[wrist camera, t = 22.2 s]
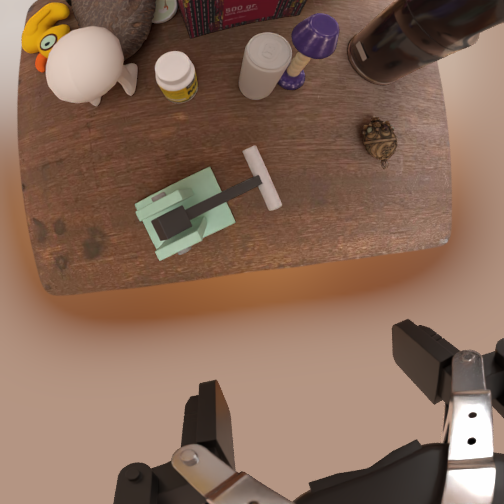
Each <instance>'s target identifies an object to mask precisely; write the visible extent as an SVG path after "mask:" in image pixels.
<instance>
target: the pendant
mask: <svg viewBox="0 0 504 504" xmlns="http://www.w3.org/2000/svg"><path fill="white" fill-rule="evenodd" d="M371 119H372V121H371V123H370V124H369V125H364V127H363V128H364V129H363V130H362V134H363V136H364V138H363V142H364V143H363V144H364V145H365V146H366V150H367V151H368V152H369V154H370V155H372V156H373V157H375V158H377V159H379V160H381V166H382V168H384V169H387V168H388V162H387V160H386V159H389V158H390V157H391V156H392V155H393V154H394V152H395V151H396V147H397V138H396V135H395V134H394V132H393V131H394V127H393V126H392V125H390V123H389V121H386V122H383V121H381V120H380V119H379V117H377V116H373V117H372V118H371ZM383 162H385V163H386V167H385V166H384V165H383Z"/></svg>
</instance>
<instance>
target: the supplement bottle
mask: <svg viewBox="0 0 504 504" xmlns="http://www.w3.org/2000/svg"><path fill="white" fill-rule="evenodd" d="M155 72H156V81H157V84H158V85H159V87H160V88H161V90H162V92H163V94H164V95H165V97H166V98H167V99H168V100H169V101H171V102H173V103H185V102H187V101H189V100H191V99H192V98H193V97H194V96H195V94H196V92H197V89H198V83H197V78H196V73H195V68H194V65H193V63H192V62H191V61H190V60H189V58H188V56H187V55H186V54H184V53H182V52H179V51H171V52H167V53H165V54H163V55H162V56H161V57H160V58H159V59H158V60H157V62H156V65H155Z"/></svg>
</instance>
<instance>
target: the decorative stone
mask: <svg viewBox="0 0 504 504" xmlns="http://www.w3.org/2000/svg"><path fill="white" fill-rule="evenodd" d="M155 2H156V0H71V4H72V5H71V6H72V10H73V11H74V15H75V18H76V19H77V21H78V25H79V26H80V28H85V27H90V26H96V27H102V28H106V29H107V30H109V31H110V32H111V33H112V34H114V35H115V36H116V37H117V38H118V39H119V42H120V45H121V49H122V53H123V56H124V60H126V59H128V58H129V57H131V56H132V55H133V54H135V53H136V52H137V51H138V50H139V49H140V47H141V46H142V44H143V42H144V41H145V40H146V39H147V35H148V34H149V32H150V29H151V23H152V19H153V18H154V15H153V14H154V12H155V10H156V6H155V5H156V3H155Z"/></svg>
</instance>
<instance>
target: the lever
mask: <svg viewBox="0 0 504 504" xmlns="http://www.w3.org/2000/svg"><path fill="white" fill-rule="evenodd" d="M242 152H243V154H244V156H245V159H246V161H247V163H248V165H249V167H250V170H251V172H252V174H253V176H254V177H252V178H250V179H248V180H246V181H243V182H241V183H239V184H237V185H235V186H233V187H231V188H228V189H226V190H224V191H222V192H220V193H218V194H216V195H214V196H212V197H210V198H208V199H206V200H204V201H202V202H200V203H198V204H196V205H194V206H192V207H190V208H188V209H186V210H185V209H184V207H183V205H181V206H179V207H177V208H175V209H173V210H171V211H169V212H167V213H165V214H163V215H161V216H159V217H157V218H155V219H153V220H151V223H152V225H153V227H154V229H155V231H156V233H157V235H158V237H159V239H160V241H164V240H168V239H170V238H172V237H174V236H176V235H177V234H179V233H181V232H183V231H185V230H187V229H188V228H190V227H192V224H191V221H190V220H192V219H194V218H196V217H197V216H199V215H201V214H203V213H205V212H207V211H209V210H211V209H213V208H215V207H217V206H219V205H221V204H223V203H225V202H227V201H229V200H231V199H233V198H235V197H237V196H239V195H241V194H243V193H245V192H247V191H249V190H251V189H253V188H255V187H257V186H258V187H259V190H260V192H261V194H262V196H263V199H264V201H265V203H266V205H267V208H268V210H269V211H272V210H275V209H277V208H279V207H281V206H282V203H281V201H280V198H279V196H278V194H277V192H276V189H275V187H274V185H273V182H272V180H271V178H270V176H269V173H268V171H267V169H266V167H265V164H264V162H263V160H262V158H261V156H260V153H259V151H258V149H257V147H256V146H252V147H250V148H247V149H245V150H243V151H242Z"/></svg>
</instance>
